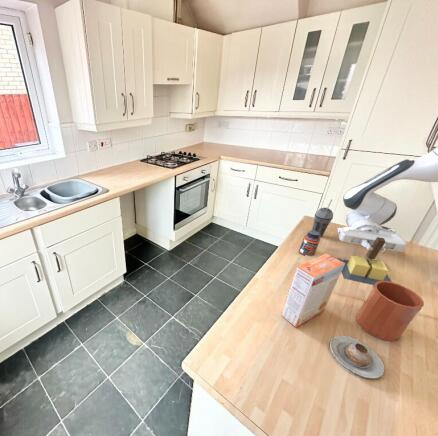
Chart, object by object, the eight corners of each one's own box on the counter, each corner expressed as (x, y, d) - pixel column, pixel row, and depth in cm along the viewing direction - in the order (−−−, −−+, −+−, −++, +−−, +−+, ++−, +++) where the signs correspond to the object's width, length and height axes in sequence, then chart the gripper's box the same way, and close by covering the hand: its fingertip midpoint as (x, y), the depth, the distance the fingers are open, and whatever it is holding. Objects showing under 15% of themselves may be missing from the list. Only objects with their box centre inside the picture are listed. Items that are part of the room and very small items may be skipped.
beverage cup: (304, 234, 123) (316, 198, 113) (314, 231, 125) (327, 195, 115) (317, 241, 117) (332, 204, 107) (328, 238, 119) (343, 201, 109)
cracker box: (306, 300, 86) (326, 252, 75) (323, 312, 81) (347, 263, 71) (278, 314, 80) (296, 265, 70) (295, 328, 76) (316, 278, 66)
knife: (364, 264, 99) (382, 235, 90) (367, 273, 95) (386, 244, 86) (358, 263, 100) (375, 234, 91) (361, 272, 96) (379, 243, 87)
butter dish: (382, 269, 99) (383, 267, 98) (396, 292, 88) (397, 290, 87) (335, 259, 105) (336, 257, 104) (342, 280, 94) (343, 278, 93)
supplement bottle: (300, 256, 107) (308, 235, 102) (296, 248, 112) (304, 227, 107) (315, 258, 106) (324, 236, 100) (311, 250, 111) (319, 229, 105)
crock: (391, 318, 78) (413, 286, 71) (405, 346, 70) (432, 313, 63) (352, 308, 82) (369, 276, 75) (361, 333, 74) (381, 301, 67)
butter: (377, 271, 96) (383, 261, 94) (382, 281, 92) (388, 270, 89) (346, 264, 100) (351, 255, 98) (350, 274, 95) (355, 264, 93)
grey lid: (321, 354, 68) (327, 343, 66) (337, 330, 75) (343, 320, 72) (375, 390, 60) (383, 380, 58) (388, 361, 66) (396, 350, 64)
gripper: (338, 220, 104) (346, 236, 93) (400, 230, 96) (416, 249, 85) (333, 233, 107) (340, 250, 96) (392, 243, 99) (407, 263, 88)
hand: (376, 249), depth 90 cm, fingers closed on knife, 2 cm apart
